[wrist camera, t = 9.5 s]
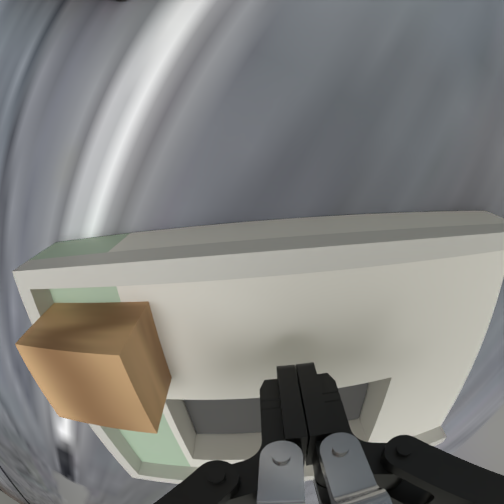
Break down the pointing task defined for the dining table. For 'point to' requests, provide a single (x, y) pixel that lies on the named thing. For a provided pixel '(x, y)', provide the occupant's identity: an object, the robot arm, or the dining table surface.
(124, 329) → the block
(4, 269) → the dining table surface
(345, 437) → the robot arm
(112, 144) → the dining table surface
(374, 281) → the box
